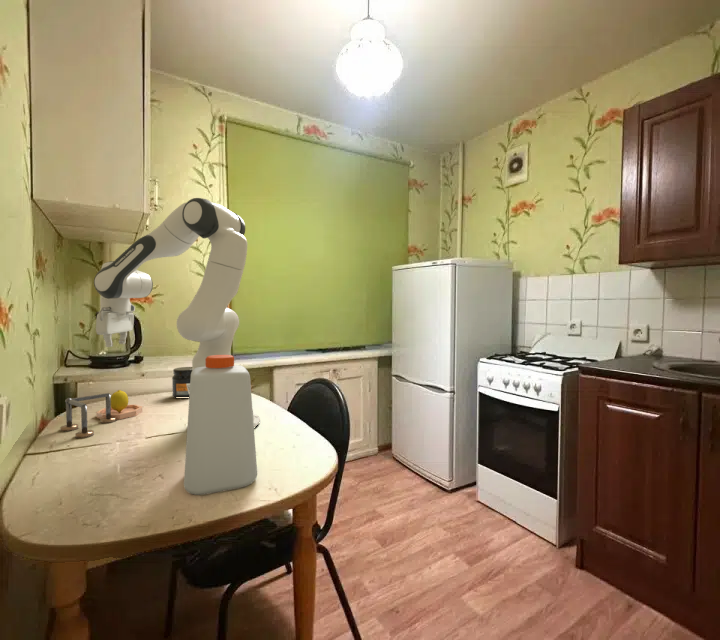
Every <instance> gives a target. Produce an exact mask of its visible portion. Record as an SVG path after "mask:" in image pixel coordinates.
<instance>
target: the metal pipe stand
mask: <svg viewBox="0 0 720 640" xmlns="http://www.w3.org/2000/svg"><path fill="white" fill-rule="evenodd" d="M111 396H112V394H110V392H107V393H99V394H93V395H92V394H91V395H86V396H79V397H74V398H71V397H67V398H66V399H65V401H64V402H65V412H66V413H65V416H66V417H65V418H66V419H65V420H66V421H65V422H66V424H64V425H62V426H60V427H59V428H60V432H62V431H66V432H71V431H72V430H73V431H75V430H78V429H79V423H73V407H72V406H75V407H78V408H80V409H81V410H80V414H81V417H80V418H81V421H80V422H81V430H80V431H78V432H75V434H74V435H75V439H85V438H86V439H87V438H90V437H93V436H94V432H95V431H94V430H92V429H88V405H87V403H84V402H82V401H87V400H94V399H95V400H96V399H100V398H101V399H102V398H105V408H106V417H105V418H102V419H100V423H101V424H111V423H115V422H116V421H117V420H116V417H111Z"/></svg>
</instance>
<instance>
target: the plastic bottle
mask: <svg viewBox="0 0 720 640" xmlns="http://www.w3.org/2000/svg"><path fill="white" fill-rule="evenodd" d="M251 384H252V383H251V375H250V372H249V371H248V369H247V368H246V367H245V366H243V365H240V364H235V356H234V355H231V354H230V355H212V356H208V357H206V367H198V368H195V369H194V370H193V371H192V372H191V380H190V395H189V398H188V399H189V400H188V415H187V426H188V427H187V429H186V443H185V444H186V446H185V460H184V461H185V462H184V472H183V473H184V478H183V487H184V489H185V491H186V492H187V493H188V494H192V495H194V496H195V495H196V496H203V495H208V494H213V493H215V494H216V493H220V492H225V491H231V490H237V489H241V488H245V487H247V486H250V485H251V484H253V483H254V482H255V480H256V479H257V477H258V466H257V465H258V464H257V451H256V449H257V448H256V438H255V437H256V435H255V429H254V422H253V414H254V409H253V399H252V386H251Z"/></svg>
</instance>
